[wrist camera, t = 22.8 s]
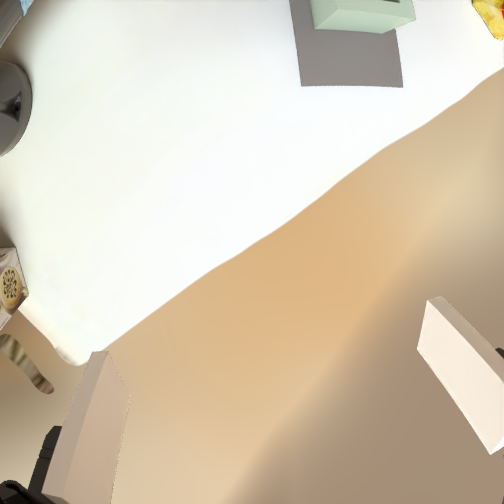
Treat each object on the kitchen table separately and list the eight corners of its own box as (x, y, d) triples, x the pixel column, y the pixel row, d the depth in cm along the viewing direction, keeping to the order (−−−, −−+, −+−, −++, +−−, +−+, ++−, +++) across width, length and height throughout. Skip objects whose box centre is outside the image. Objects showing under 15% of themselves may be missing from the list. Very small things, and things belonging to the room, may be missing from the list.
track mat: (400, 87, 38) (403, 87, 38) (301, 86, 38) (302, 85, 37) (382, -20, 31) (384, -22, 30) (284, -30, 30) (285, -32, 30)
